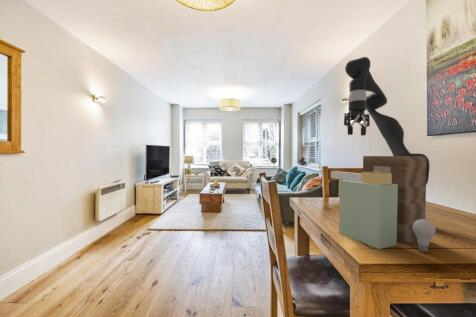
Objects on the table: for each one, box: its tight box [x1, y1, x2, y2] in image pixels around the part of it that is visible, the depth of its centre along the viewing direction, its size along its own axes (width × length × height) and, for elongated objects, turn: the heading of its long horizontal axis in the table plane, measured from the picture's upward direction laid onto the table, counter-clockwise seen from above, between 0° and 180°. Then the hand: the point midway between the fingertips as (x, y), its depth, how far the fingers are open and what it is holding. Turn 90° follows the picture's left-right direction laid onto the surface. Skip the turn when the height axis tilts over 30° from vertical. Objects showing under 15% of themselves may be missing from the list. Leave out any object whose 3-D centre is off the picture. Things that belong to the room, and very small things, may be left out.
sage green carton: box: [338, 179, 398, 250], centre depth 92 cm, size 9×18×22 cm, turn 22°
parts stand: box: [362, 155, 428, 245], centre depth 97 cm, size 12×18×32 cm
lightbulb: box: [412, 219, 436, 253], centre depth 80 cm, size 6×6×11 cm
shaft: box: [330, 170, 392, 185], centre depth 96 cm, size 6×25×4 cm, turn 22°
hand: (356, 135), depth 113 cm, fingers open, 8 cm apart
